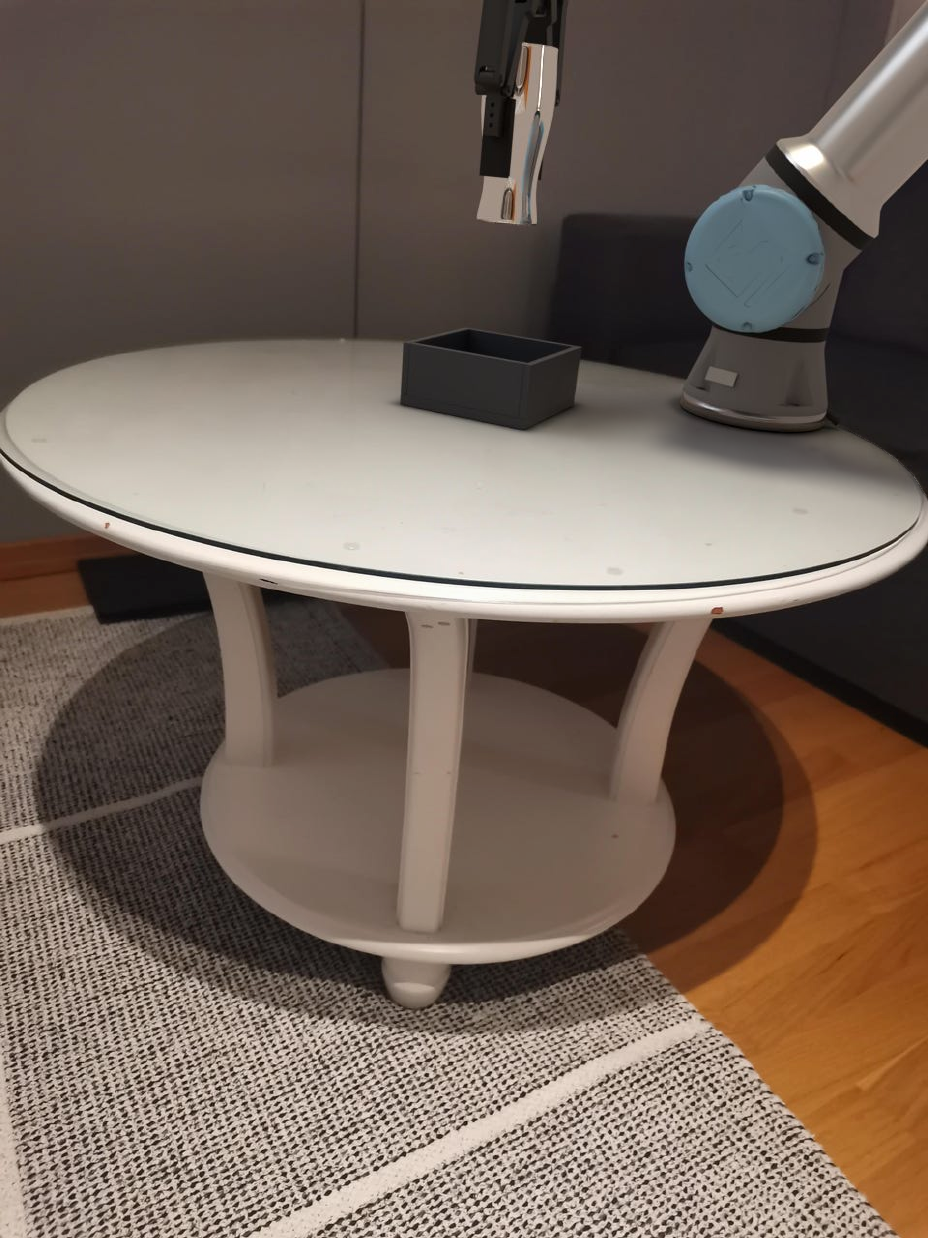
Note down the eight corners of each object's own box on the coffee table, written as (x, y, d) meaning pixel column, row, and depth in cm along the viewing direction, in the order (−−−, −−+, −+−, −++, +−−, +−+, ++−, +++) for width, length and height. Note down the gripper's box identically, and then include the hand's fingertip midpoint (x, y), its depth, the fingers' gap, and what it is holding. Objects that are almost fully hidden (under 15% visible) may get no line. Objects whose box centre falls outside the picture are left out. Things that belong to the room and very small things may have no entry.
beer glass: (540, 223, 96) (558, 53, 89) (542, 227, 90) (563, 45, 83) (472, 217, 96) (486, 46, 89) (470, 221, 90) (484, 37, 83)
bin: (574, 404, 99) (582, 346, 96) (523, 430, 88) (531, 365, 85) (460, 382, 104) (465, 326, 101) (399, 404, 93) (403, 341, 90)
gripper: (544, -86, 91) (518, 176, 101) (446, -149, 74) (426, 171, 85) (618, -87, 88) (583, 183, 98) (532, -154, 72) (501, 178, 82)
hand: (511, 177), depth 91 cm, fingers closed on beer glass, 7 cm apart
